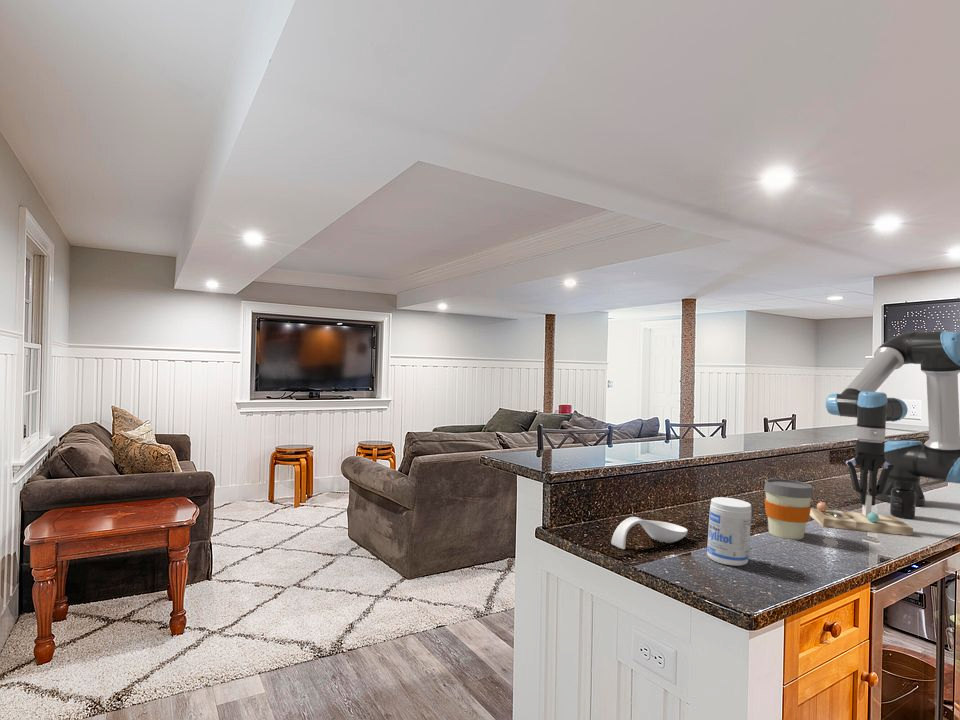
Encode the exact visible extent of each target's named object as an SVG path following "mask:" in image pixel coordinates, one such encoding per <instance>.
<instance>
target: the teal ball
mask: <svg viewBox="0 0 960 720" xmlns="http://www.w3.org/2000/svg"><path fill="white" fill-rule="evenodd" d="M878 515H879V514H877V513H875V512H873V511H871V513H869V514H868V515H867V519H868V520H869V521H870V522H873V523H875V522H877V521H878V520H879V516H878Z"/></svg>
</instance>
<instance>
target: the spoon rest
mask: <svg viewBox="0 0 960 720" xmlns="http://www.w3.org/2000/svg"><path fill="white" fill-rule="evenodd" d="M637 524H640V526H641V527H642V528H643V530H644V531H645V532H646V534H647V535H648V536H649V537H650V538H651V539H652V540H653V539H654V540H653V541H655V540H657V541H656V542H658V541H659V542H658V543H663V542H665V543H664V544H672V543H675V542H678V541H680V540H682V539H683V538H685V537H686V535H688V532H689V530H688V529H687V528H686V527H684V526H681V525H678V524H675V523H671V522H666V521H661V520H652V519H651V520H650V519H649V520H647V519H642V518H640V517H637V516H630V517H627V518H626V519H624V520H623V521H621V522H620V524H618V525H617V527H616V529H614V532H613V535H612V537H611V540H610V541H611V542H610V543H611V545H612V546H615V547H617V548H619V549H621V550H625V549H626V543H627V541H626V540H627V535H628V533H629V531H630V529H631V528H632V527H634V526H635V525H637Z"/></svg>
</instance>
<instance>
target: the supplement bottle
mask: <svg viewBox="0 0 960 720" xmlns="http://www.w3.org/2000/svg"><path fill="white" fill-rule="evenodd" d="M895 486H896V487H895V488H893V489H892V490H891V503H890V505H889V507H890V508H889V513H890V516H893V517H895V518H900V519H906V520H913V519H915V517H916V507H917V506H916V493H915V491H913V490H912V488H913V482H910V481H904V480H896V481H895Z"/></svg>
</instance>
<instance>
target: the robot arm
mask: <svg viewBox="0 0 960 720" xmlns="http://www.w3.org/2000/svg"><path fill="white" fill-rule="evenodd" d="M910 364H911V365H912V364H913V365H914V364H915V365H920V370H921V372H922V373H924V374H925V375H926V376H925V377H926V395H927V398H926V399H927V418H928V439H927V440H926V441H925V442H924V443H923V442H922V441H920V440H887V441H886V428H887V427H886V425H887V424H886V423H887V422H897V421H901V420H903V419H904V418H905V417H907V414H908V412H909V411H908V405H907V404H906V403H905V401H903V400H902V399H900V398H898V397H897V398H896V397H888V396H887V394H886V393H885V392H882V391H877V390H878V389H879V388H880V387H881V386H882V385H883V383H884V382H885V381H886V380H887V379H888V378H889V377H890V375H891V374H892V373H893V372H895V370H898V369H901V368H902V367H903V365H910ZM959 374H960V332H959V331H948V330H943V331H942V330H941V331H936V330H935V331H934V330H933V331H908V332H904V333H901V334H898V335H895V336H894V337H892V338H890V339H888V340H886V341H885V342H884V343H882V344H881V345H880V346H879V347H878V348H877V349H876V350H875V351H874V353H873V357H872V359H871V360H870V361H869V362H868V364H866V366H865V367H864V368H863V369H861V370H860V372H859V374H858V375H856V376H855V378H854V379H853V380H852V381H851V382H850V383H849V384H848V385H847V387H846V388H844V390H843V391H842V392H841V393H830V394H828V396H827V397H826V400H825V408H826V411H827V413H828V414H830V415H833V416H837V417H846V418H856V430H855V431H856V433H855V438H856V441H855V453H854V455H853V456H852V457H853V458H851V459H849V460H847V459H846V460H845V461H844V463H845V465H846V466H847V468H848V472H849V477H850V481H851V485H852V490H853V491H855V492H857V493H859V504H860V505H862V508H861V509H862V510H861V513H862V514H863V515H865V516H867V515H868V514H869V513H871V512H872V508H873V507H874V506H875V505H876V500H877V499H878V500H879V501H883V502H887V503H890V504H891V490H892V489H893V488H895V487H896V486H895V481H896V480H904V481H910V482H913V488H912V490H913V491H915V493H916V506H915V507H922V506H925V505H926V499H925V495H924V493H923V492H924V491H923V489H922V486H921V478H925V479H930V480H935V481H941V482H945V483H953V484H960V402H959V396H960V395H959ZM856 465H857V466H858V467H859V473H860V474H859V478H858V474H857V469H856ZM881 467H882V469H881V472H880V475H879V477H878V474H879V469H880V468H881ZM868 476H869V477H868ZM868 479H869V480H868ZM872 506H873V507H872Z"/></svg>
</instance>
